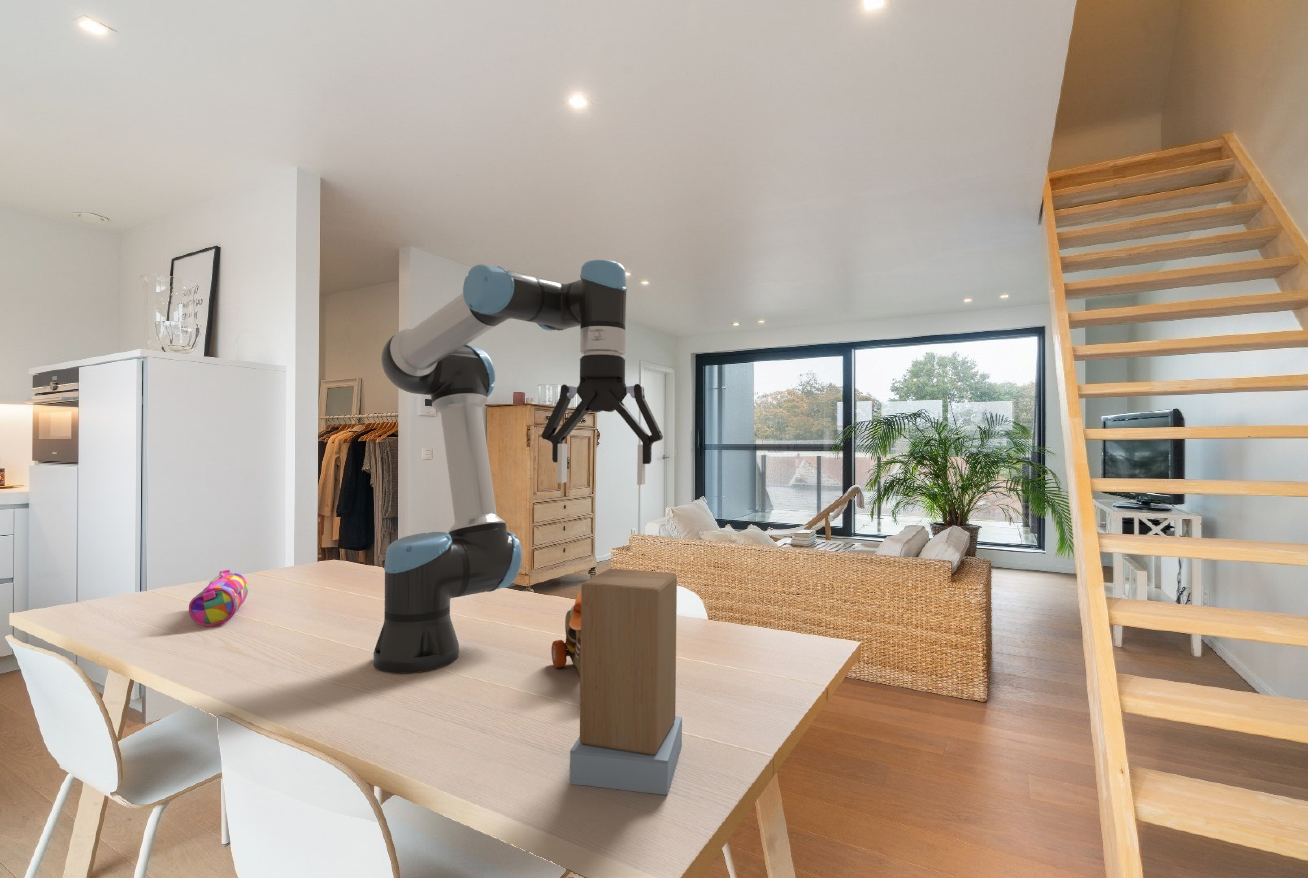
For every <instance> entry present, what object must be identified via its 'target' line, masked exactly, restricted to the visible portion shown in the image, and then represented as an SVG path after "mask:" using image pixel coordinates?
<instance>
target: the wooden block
mask: <svg viewBox="0 0 1308 878" xmlns="http://www.w3.org/2000/svg"><path fill="white" fill-rule="evenodd" d="M677 582H678V576H677V574H676V573H674V572H668V571H667V572H665V571H652V570H651V571H650V570H640V569H639V570H638V569H624V568H623V569H622V568H608V569H606V570H604V571H602V572H600V573H599V574H596V575H595V576H593V577H591V578H589V579H587V580H586V581H584V582H582V584H581V587H580V589H581V590H580V591H581V665H580V674H579V675H580V676H579V677H580V679H579V683H580V685H579V686H580V687H579V690H580V691H579V692H580V693H579V736H580V743H582V744H587V745H593V746H599V747H606V748H612V749H619V750H625V751H631V752H638V753H644V754H650V755H654V754H656V752H657V751H658V749H659V747H660V746H661V744H662V742H663V740H664V739H665V737H666V735H667V733H668V732H669V730H670V728H671V726H672V725H673V723H674V721H675V716H676V702H677V701H676V699H677V698H676V697H677V696H676V692H677V689H676V688H677V687H676V686H677V685H676V684H677V683H676V682H677V677H676V676H677V675H676V674H677V610H678V609H677V607H678V606H677V604H678V603H677V602H678V600H677V598H678V597H677V596H678V595H677V594H678V593H677V591H678V587H677V585H678V583H677Z"/></svg>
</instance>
